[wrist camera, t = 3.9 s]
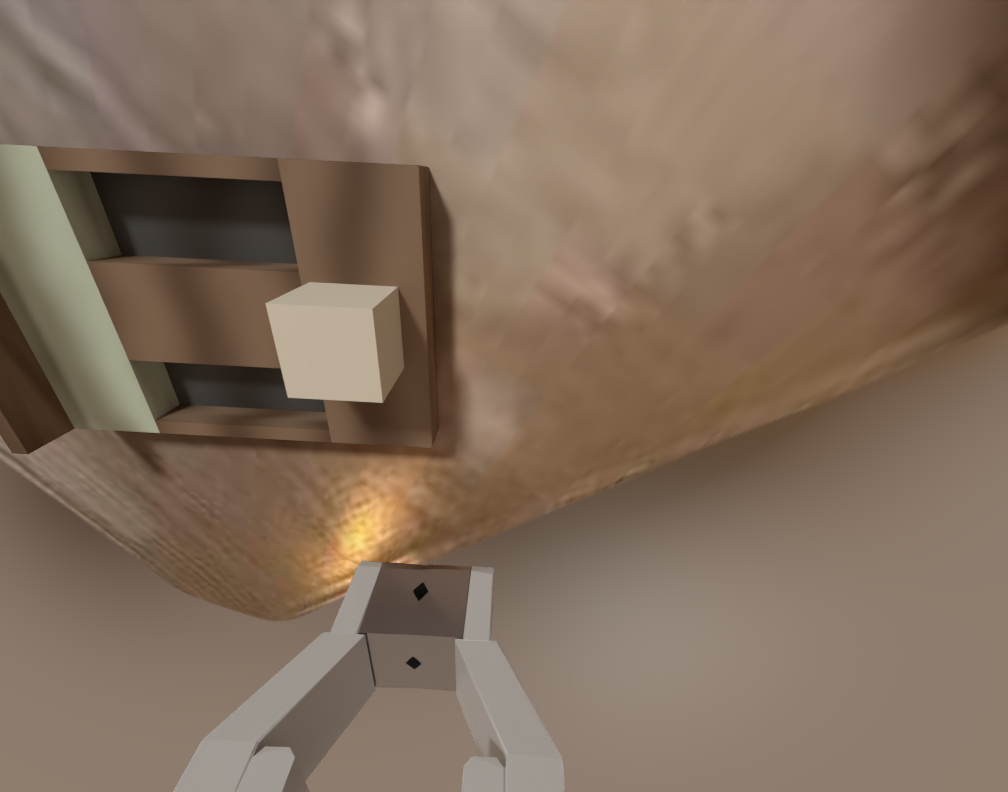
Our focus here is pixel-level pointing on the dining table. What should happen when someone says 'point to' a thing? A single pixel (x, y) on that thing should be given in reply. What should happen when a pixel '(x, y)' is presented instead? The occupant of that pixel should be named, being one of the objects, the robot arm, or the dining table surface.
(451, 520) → the dining table surface
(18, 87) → the dining table surface
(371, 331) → the cream block
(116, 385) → the box
